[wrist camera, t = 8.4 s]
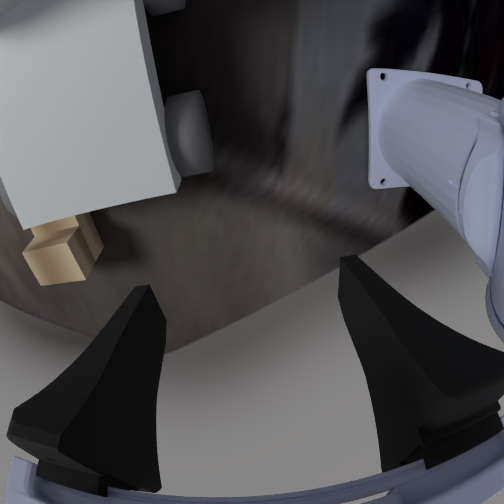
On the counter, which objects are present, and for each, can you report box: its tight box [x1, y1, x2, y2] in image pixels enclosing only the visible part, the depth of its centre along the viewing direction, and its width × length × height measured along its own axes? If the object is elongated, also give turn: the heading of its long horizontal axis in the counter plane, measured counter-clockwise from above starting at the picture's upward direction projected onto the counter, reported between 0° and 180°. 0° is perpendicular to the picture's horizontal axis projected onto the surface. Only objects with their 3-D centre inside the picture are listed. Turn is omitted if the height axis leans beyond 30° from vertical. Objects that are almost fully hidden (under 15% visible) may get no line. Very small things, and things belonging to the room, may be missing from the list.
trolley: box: [0, 0, 214, 230], centre depth 10 cm, size 13×13×10 cm
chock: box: [22, 212, 104, 286], centre depth 18 cm, size 4×5×4 cm
